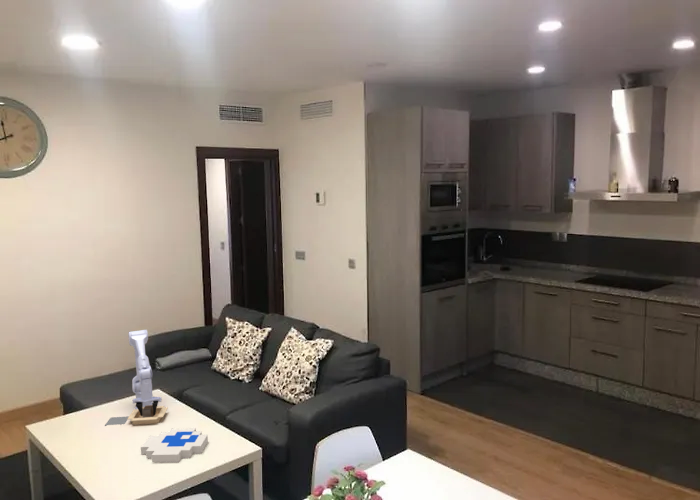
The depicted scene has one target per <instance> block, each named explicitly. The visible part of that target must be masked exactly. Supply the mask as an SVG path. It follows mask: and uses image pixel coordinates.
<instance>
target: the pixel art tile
mask: <svg viewBox="0 0 700 500" xmlns="http://www.w3.org/2000/svg"><path fill="white" fill-rule="evenodd" d="M202 432H203V431H201V430H200V431H199V430H197V428H196V427H186V428H185V427H182V428H181V427H179V428H175V427H174V428H171V429H170V430H169V431H161V432H160V433H159V434H158V435H149V436H148V438H147V439H146V440H145V441H144V442H143V444H142V445H141V446H140V455H141V456H142V455H144V454H146V459H147V458H149V459H151V463H152V462H160V463H179V462H180V461H181V460H182V459H188V458H189V459H190V458H191V457H192V456H193V455H195V454H196V455H198V454H202V453H203V451H204V450H205V448H206V446H207V444H208V443H209V437H208V434H202Z"/></svg>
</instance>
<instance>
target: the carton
mask: <svg viewBox="0 0 700 500" xmlns="http://www.w3.org/2000/svg"><path fill="white" fill-rule="evenodd" d="M143 409H144V407H143ZM168 409H169V407H168V406H167V407H165V405H157V408H156V414H155V415H154V416H153V417H144V418H143V416H141V415H140V412H139V410H138V409H135V408H133V410H132V412H131V413H130V414H129V417H128V419H127V421H128V420H130V422H132V425H145V424H146V425H149V424H159V423H160V421H161V419H162V418H163V417H164V416H165V414H166V412H167V411H168Z"/></svg>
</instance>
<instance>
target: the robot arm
mask: <svg viewBox="0 0 700 500" xmlns="http://www.w3.org/2000/svg"><path fill="white" fill-rule="evenodd" d="M148 340H149V333H148V329H141V330H134V331H129V332H128V343H129V346H131V347H132V348H133V349H134V358H135V371H136V375H135V376H133V378H132V379H131V380H132V382H131V383H132V384H131V386H132V387H131V388H132V392H133V393H134V394H135V398H133V399H132V404H135V407H134V409H138V410H139V412H140V415H141V416H143V415H142V410H143V407H145V406H147V405H152V406H153V415H155V414H156V408H157V406H159V405H158V404H159V403H160V402H162V397H161V396H153V383H152V382H153V381H152V379H153V370H152V367H151V365H150V360H149V357H148V356H147V354H146V344H147V343H148Z"/></svg>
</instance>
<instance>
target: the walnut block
mask: <svg viewBox="0 0 700 500" xmlns="http://www.w3.org/2000/svg"><path fill="white" fill-rule="evenodd" d="M142 415H143V418H144V417H153V416H154V415H153V406H152V405H147V406H145V407H144V409H143V410H142Z"/></svg>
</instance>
